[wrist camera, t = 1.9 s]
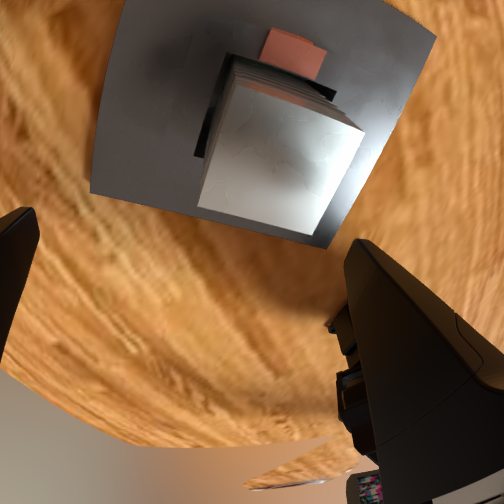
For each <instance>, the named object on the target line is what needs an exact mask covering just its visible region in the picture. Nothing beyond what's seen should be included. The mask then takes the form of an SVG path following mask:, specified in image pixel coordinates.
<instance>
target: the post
mask: <svg viewBox="0 0 504 504" xmlns="http://www.w3.org/2000/svg"><path fill="white" fill-rule="evenodd" d="M331 103H332V102H331V101H330V100H328V99H325V96H323V95H321V94H319V92H318V91H316V90H314V88H313V87H311V86H310V85H309V84H307V83H305V81H303V80H300V79H298V78H295V77H292V76H290V75H287V74H284V73H281V72H278V71H276V70H273V69H270V68H267V67H264V66H261V65H258V64H254V63H251V62H248V61H245V60H241V59H238V58H234V57H233V58H232V61H231V64H230V67H229V69H228V72H227V75H226V78H225V81H224V84H223V87H222V90H221V92H220V95H219V98H218V101H217V104H216V108H215V111H214V114H213V117H212V120H211V123H210V128H209V133H208V139H207V143H206V144H207V145H206V149H205V151H206V152H205V155H204V162H203V165H202V173H201V177H200V182H201V186H200V192H199V199H198V205H197V206H198V207H202V208H206V209H210V210H215V211H219V212H223V213H227V214H231V215H235V216H239V217H243V218H247V219H251V220H255V221H258V222H262V223H266V224H270V225H274V226H278V227H282V228H286V229H289V230H293V231H297V232H301V233H304V234H308V235H312V234H313V232H314V230H315V228H316V227H317V225H318V223H319V221H320V219H321V217H322V215H323V214H324V212H325V210H326V208H327V206H328V204H329V202H330V200H331V199H332V197H333V195H334V193H335V191H336V189H337V187H338V185H339V183H340V181H341V179H342V178H343V176H344V174H345V172H346V170H347V168H348V166H349V164H350V162H351V160H352V158H353V156H354V154H355V152H356V150H357V148H358V146H359V144H360V142H361V140H362V138H363V136H364V134H365V132H364V131H363V130H362V129H360V128H359V127H358V126H357V125H356V124H355V123H354V122H352V121H351V120H350V119H349V118H348V115H347V114H346V113H344V112H342V111H340V110H339V108H338V107H337V106H336V105H333V104H331Z"/></svg>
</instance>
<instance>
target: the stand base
mask: <svg viewBox="0 0 504 504" xmlns="http://www.w3.org/2000/svg"><path fill="white" fill-rule="evenodd" d="M436 38H437V36H436V35H434V34H433V33H432V32H430V31H429V30H427V29H426V28H424V27H423V26H422V25H420V24H419V23H417V22H416V21H414V20H413V19H411V18H410V17H408V16H406V15H405V14H403V13H402V12H400V11H398V10H397V9H395V8H394V7H392V6H390V5H389V4H387V3H385V2H383V1H382V0H126V1H125V4H124V7H123V10H122V13H121V17H120V20H119V24H118V27H117V31H116V34H115V38H114V42H113V46H112V50H111V54H110V58H109V63H108V67H107V71H106V76H105V81H104V86H103V91H102V97H101V102H100V108H99V114H98V120H97V127H96V134H95V142H94V150H93V159H92V169H91V181H90V193H92V194H97V195H101V196H106V197H110V198H115V199H119V200H124V201H128V202H133V203H137V204H142V205H146V206H150V207H155V208H159V209H163V210H168V211H172V212H176V213H180V214H185V215H189V216H193V217H197V218H202V219H206V220H210V221H214V222H218V223H222V224H226V225H231V226H235V227H239V228H243V229H247V230H251V231H255V232H259V233H263V234H267V235H271V236H275V237H279V238H283V239H287V240H291V241H295V242H299V243H303V244H307V245H311V246H315V247H319V248H323V249H326V250H327V248H328V246H329V244H330V243H331V241H332V239H333V238H334V236H335V234H336V233H337V231H338V229H339V227H340V226H341V224H342V222H343V220H344V219H345V217H346V215H347V213H348V212H349V210H350V208H351V206H352V205H353V203H354V201H355V199H356V198H357V196H358V194H359V192H360V190H361V189H362V187H363V185H364V183H365V181H366V179H367V178H368V176H369V174H370V172H371V170H372V168H373V167H374V165H375V163H376V161H377V159H378V157H379V155H380V153H381V151H382V150H383V148H384V146H385V144H386V142H387V140H388V138H389V136H390V134H391V132H392V130H393V128H394V126H395V124H396V122H397V120H398V118H399V116H400V114H401V112H402V110H403V108H404V106H405V104H406V102H407V100H408V98H409V96H410V94H411V92H412V90H413V88H414V86H415V84H416V82H417V79H418V77H419V75H420V73H421V71H422V69H423V67H424V64H425V62H426V60H427V58H428V56H429V53H430V51H431V49H432V47H433V44H434V42H435V40H436ZM233 57H234V58H238V59H241V60H245V61H248V62H251V63H254V64H258V65H261V66H264V67H267V68H270V69H273V70H276V71H278V72H281V73H284V74H287V75H290V76H292V77H295V78H298V79H300V80H303V81H305V83H307V84H309V85H310V86H311V87H313V88H314V90H316V91H318V92H319V94H321V95H323V96H325V99H328V100H330V101H331V102H332V103H331V104H333V105H336V106H337V107H338V108H339V110H340V111H342V112H344V113H346V114H347V115H348V118H349V119H350V120H351V121H352V122H354V123H355V124H356V125H357V126H358V127H359V128H360V129H362V130H363V131H364V132H365V134H364V136H363V138H362V140H361V142H360V144H359V146H358V148H357V150H356V152H355V154H354V156H353V158H352V160H351V162H350V164H349V166H348V168H347V170H346V172H345V174H344V176H343V178H342V179H341V181H340V183H339V185H338V187H337V189H336V191H335V193H334V195H333V197H332V199H331V200H330V202H329V204H328V206H327V208H326V210H325V212H324V214H323V215H322V217H321V219H320V221H319V223H318V225H317V227H316V228H315V230H314V232H313V234H312V235H308V234H304V233H301V232H297V231H293V230H289V229H286V228H282V227H278V226H274V225H270V224H266V223H262V222H258V221H255V220H251V219H247V218H243V217H239V216H235V215H231V214H227V213H223V212H219V211H215V210H210V209H206V208H202V207H198V206H197V205H198V199H199V192H200V186H201V182H200V177H201V173H202V165H203V162H204V155H205V152H206V151H205V149H206V145H207V144H206V143H207V139H208V133H209V128H210V123H211V120H212V117H213V114H214V111H215V108H216V104H217V101H218V98H219V95H220V92H221V90H222V87H223V84H224V81H225V78H226V75H227V72H228V69H229V67H230V64H231V61H232V58H233Z"/></svg>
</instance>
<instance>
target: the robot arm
mask: <svg viewBox="0 0 504 504" xmlns="http://www.w3.org/2000/svg"><path fill="white" fill-rule="evenodd" d="M39 238H40V231H39V226H38V222H37V218H36V213H35V210H34V209H33V208H32V207H19V208H17V209H16V210H14V211H12V212H10V213H9V214H7V215H5V216H3V217H2V218H0V362H1V359H2V355H3V351H4V348H5V344H6V341H7V337H8V334H9V331H10V327H11V324H12V321H13V318H14V315H15V312H16V309H17V306H18V303H19V301H20V298H21V295H22V292H23V290H24V287H25V284H26V281H27V277H28V274H29V271H30V267H31V264H32V261H33V257H34V254H35V251H36V248H37V245H38V242H39ZM344 274H345V281H346V288H347V295H348V303H347V304H346V305H345V307H344V308H343V309H342V310H341V312H340V313H339V314H338V316H337V317H336V318H335V319H334V321H333V322H332V323H331V325H330V326H329V327H328V331H329V333H331V334H337V337H338V341H339V345H340V348H341V352H342V354H343V355H345V356H346V360H347V363H348V367H349V369H347V370H345V371H340V372H338V373H336V376H337V381H336V387H337V400H338V418H339V420H340V421H341V422H343V423H344V425H345V427H346V429H347V430H348V431H349V432H350V433H352V438H353V444H354V447H355V449H356V450H357V451H358V452H359V453H360V454H361V455H366V456H367V457H368V458H370V459H371V460H372V461H373V462H374V463H375V464H377V465H378V466H379V472H380V479H381V488H382V496H383V504H504V354H503V353H502V352H501V351H499V350H498V349H497V348H496V347H495V346H494V345H492V344H491V343H490V342H489V341H488V340H486V339H485V338H484V337H483V336H482V335H481V334H479V333H478V332H477V331H476V330H475V329H474V328H473V327H472V326H470V325H469V324H468V323H467V322H466V321H465V320H464V319H463V318H461V317H460V316H459V315H458V314H457V313H454V310H453V309H451V308H450V307H449V306H448V305H447V304H446V303H445V302H444V301H442V300H441V299H440V298H439V297H438V296H437V295H436V294H434V293H433V292H432V291H431V290H430V289H429V288H427V287H426V286H425V285H424V284H423V283H421V282H420V281H419V280H418V279H417V278H416V277H414V276H413V275H412V274H411V273H410V272H408V271H407V270H406V269H405V268H404V267H402V266H401V265H400V264H399V263H397V262H396V261H395V260H394V259H392V258H391V257H390V256H389V255H387V254H386V253H385V252H384V251H382V250H381V249H380V248H379V247H377V246H376V245H375V244H374V243H372V242H371V241H370V240H367V239H359V238H357V239H355V240H354V241H353V243H352V245H351V247H350V250H349V252H348V254H347V256H346V258H345V261H344Z"/></svg>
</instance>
